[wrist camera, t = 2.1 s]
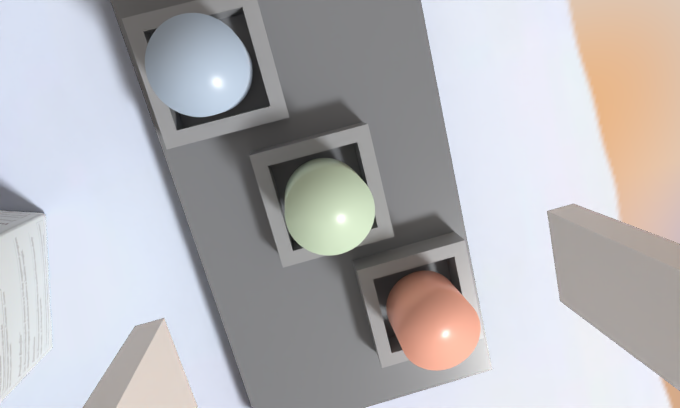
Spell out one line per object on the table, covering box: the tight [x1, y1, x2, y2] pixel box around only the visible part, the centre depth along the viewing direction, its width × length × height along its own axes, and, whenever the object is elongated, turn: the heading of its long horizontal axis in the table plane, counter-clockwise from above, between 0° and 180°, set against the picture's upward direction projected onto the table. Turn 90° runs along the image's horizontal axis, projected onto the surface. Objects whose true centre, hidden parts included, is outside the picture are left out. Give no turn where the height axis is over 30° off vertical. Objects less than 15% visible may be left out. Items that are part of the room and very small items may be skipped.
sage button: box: [285, 158, 375, 256], centre depth 25 cm, size 4×4×4 cm
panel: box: [110, 0, 492, 408], centre depth 28 cm, size 16×30×4 cm, turn 14°
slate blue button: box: [145, 13, 253, 117], centre depth 23 cm, size 4×4×4 cm
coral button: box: [386, 270, 481, 371], centre depth 27 cm, size 4×4×4 cm
